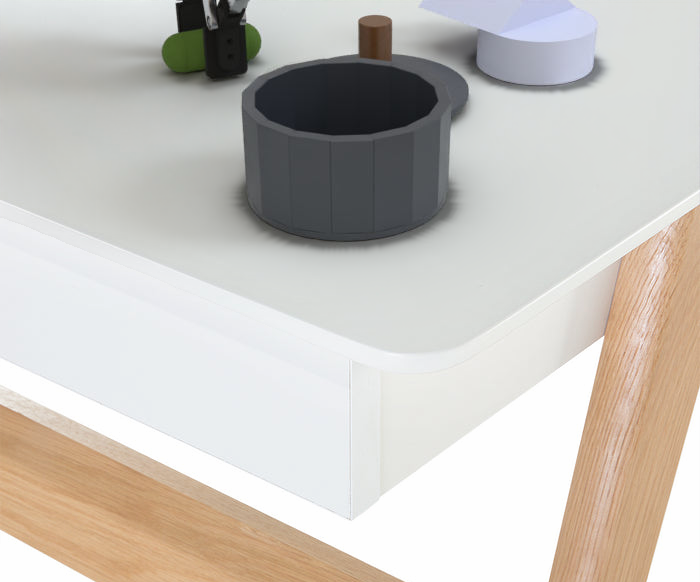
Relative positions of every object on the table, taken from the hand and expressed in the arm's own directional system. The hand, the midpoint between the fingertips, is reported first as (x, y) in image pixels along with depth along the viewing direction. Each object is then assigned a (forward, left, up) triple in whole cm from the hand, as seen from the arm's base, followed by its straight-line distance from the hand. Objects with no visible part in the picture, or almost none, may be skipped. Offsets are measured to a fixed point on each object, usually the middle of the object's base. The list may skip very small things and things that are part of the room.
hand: (213, 60), depth 96 cm
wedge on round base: (+22, -9, -1) cm, 24 cm away
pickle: (0, 0, 0) cm, 0 cm away
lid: (+8, -12, 0) cm, 14 cm away
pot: (0, -24, 0) cm, 24 cm away
